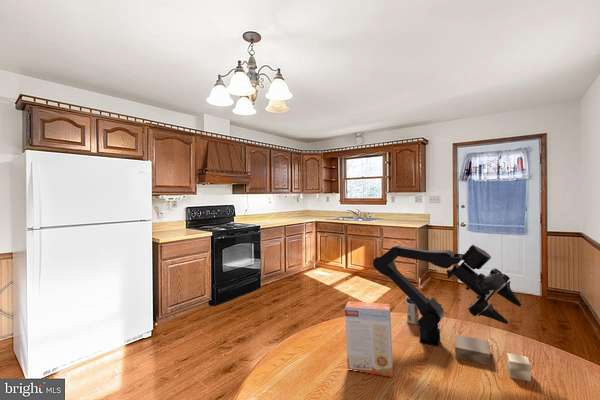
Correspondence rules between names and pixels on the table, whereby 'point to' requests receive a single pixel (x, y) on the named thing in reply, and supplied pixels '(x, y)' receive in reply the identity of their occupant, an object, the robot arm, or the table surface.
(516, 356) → the maple cube
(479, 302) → the robot arm
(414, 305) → the white capped bottle
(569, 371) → the table surface
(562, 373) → the table surface
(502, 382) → the table surface
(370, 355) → the cracker box
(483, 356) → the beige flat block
